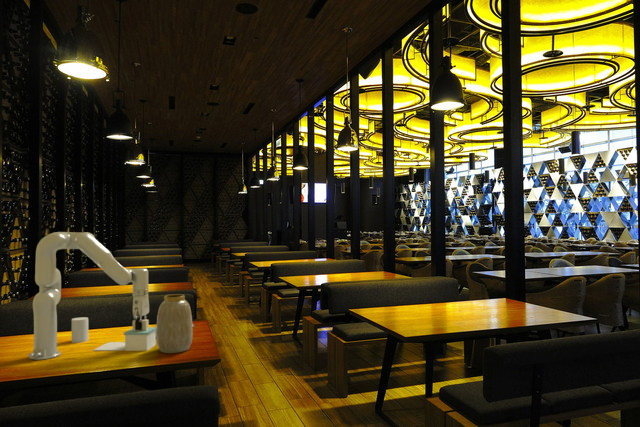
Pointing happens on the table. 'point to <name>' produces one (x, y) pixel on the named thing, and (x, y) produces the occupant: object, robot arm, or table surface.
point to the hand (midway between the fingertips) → (140, 328)
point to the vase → (174, 324)
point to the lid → (144, 331)
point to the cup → (79, 330)
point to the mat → (112, 346)
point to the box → (140, 342)
